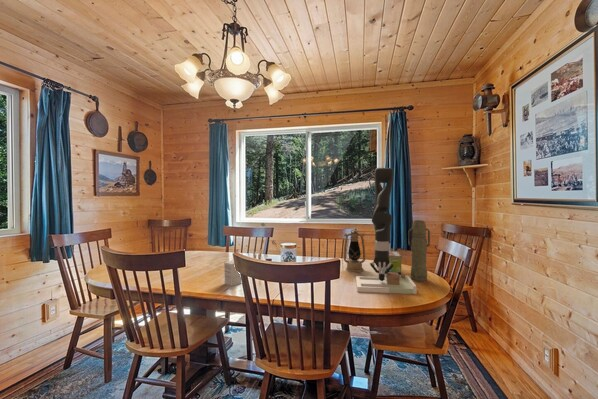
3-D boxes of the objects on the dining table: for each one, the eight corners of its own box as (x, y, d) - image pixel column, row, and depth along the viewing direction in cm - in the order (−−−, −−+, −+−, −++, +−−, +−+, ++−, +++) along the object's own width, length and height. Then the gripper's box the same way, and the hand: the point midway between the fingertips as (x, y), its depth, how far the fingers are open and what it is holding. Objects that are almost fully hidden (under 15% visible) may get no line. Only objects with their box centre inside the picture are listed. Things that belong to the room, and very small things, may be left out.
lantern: (344, 271, 195) (344, 226, 194) (343, 267, 207) (342, 224, 206) (366, 272, 194) (366, 226, 193) (364, 267, 206) (364, 224, 205)
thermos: (406, 277, 181) (406, 220, 181) (427, 277, 179) (427, 220, 179) (410, 281, 172) (409, 221, 172) (431, 282, 170) (431, 221, 170)
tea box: (401, 280, 174) (401, 255, 173) (384, 280, 176) (384, 255, 175) (398, 274, 188) (398, 250, 188) (382, 273, 190) (382, 250, 190)
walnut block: (386, 281, 164) (386, 272, 164) (397, 281, 163) (397, 272, 163) (387, 284, 159) (387, 275, 158) (399, 284, 157) (399, 275, 157)
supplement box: (235, 281, 176) (235, 259, 175) (242, 283, 170) (242, 261, 170) (224, 283, 170) (223, 261, 170) (231, 286, 165) (230, 263, 165)
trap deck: (355, 280, 175) (355, 273, 174) (408, 282, 170) (408, 275, 170) (357, 291, 155) (357, 283, 155) (416, 294, 150) (416, 286, 150)
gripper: (393, 248, 165) (393, 279, 165) (368, 247, 167) (368, 278, 167) (395, 250, 157) (395, 283, 158) (369, 249, 160) (369, 281, 160)
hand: (381, 280), depth 162 cm, fingers closed
